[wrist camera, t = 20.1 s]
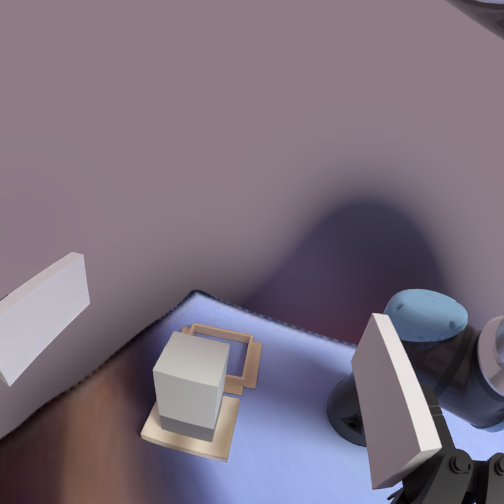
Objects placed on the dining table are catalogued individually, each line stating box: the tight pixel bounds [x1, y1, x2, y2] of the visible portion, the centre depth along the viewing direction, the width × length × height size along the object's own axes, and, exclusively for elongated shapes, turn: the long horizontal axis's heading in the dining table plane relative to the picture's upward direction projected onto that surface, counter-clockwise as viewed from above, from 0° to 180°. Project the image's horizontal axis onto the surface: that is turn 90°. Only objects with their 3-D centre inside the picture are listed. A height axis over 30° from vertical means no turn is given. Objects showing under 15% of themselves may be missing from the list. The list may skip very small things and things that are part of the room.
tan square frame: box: [180, 323, 262, 396], centre depth 48 cm, size 16×16×2 cm
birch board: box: [141, 396, 240, 462], centre depth 34 cm, size 12×11×2 cm
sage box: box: [153, 331, 230, 442], centre depth 31 cm, size 7×7×13 cm
